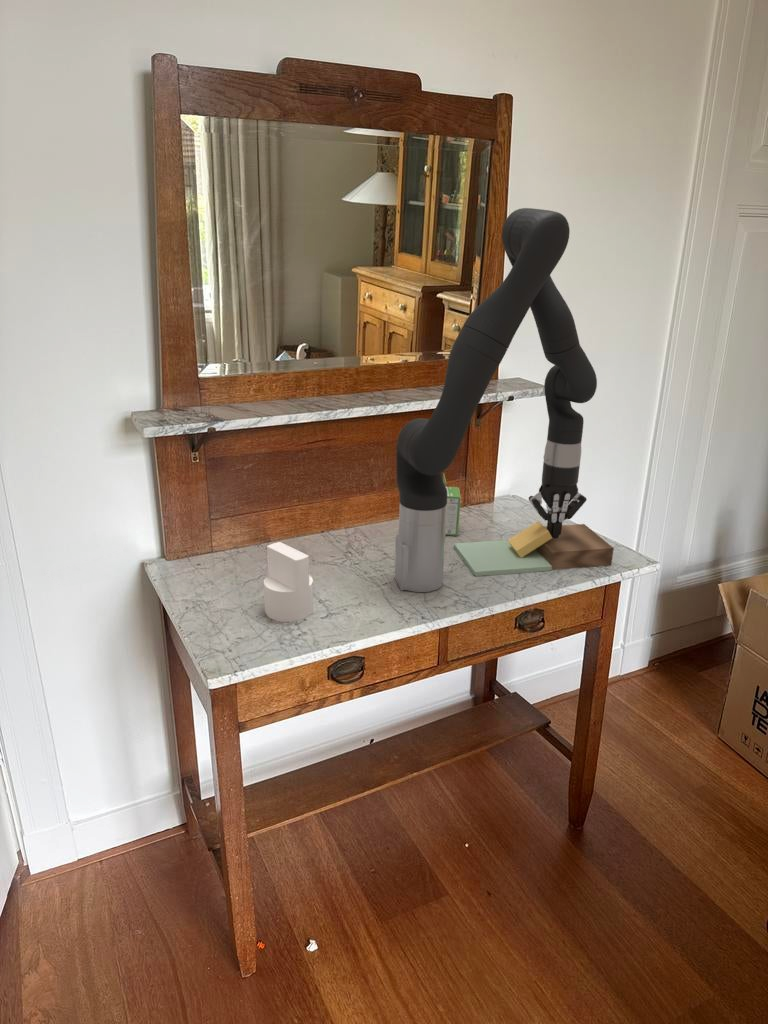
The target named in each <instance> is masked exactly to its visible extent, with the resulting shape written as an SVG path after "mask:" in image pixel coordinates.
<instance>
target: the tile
mask: <svg viewBox="0 0 768 1024" xmlns="http://www.w3.org/2000/svg"><path fill="white" fill-rule="evenodd" d="M544 526H545V525H544V524H542V523H541V521H539V520H537V521H536V522H534V523H532V524H531V525H528V527H526V528H524V529H523V530H522V531H520V532H518V533H517V534H515V535H514V536H512V537H510V538H509V539H507V540H508V542H509V543H510V545H511V547H512V548H513V549H514V550H515V551H516V553H517V554H518V555H519V556H520V557H521V558H522V557H523V556H525V555H526V554H528V553H530V552H531V551H533V550H534V549H536V548H537V547H539V546H541V545H542V544H544V543H545V542H547V541H549V540H550V539H552V536H551V534H550V533H549V531H548V530H547V529H546V528H545V527H544Z"/></svg>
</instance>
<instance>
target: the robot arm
mask: <svg viewBox="0 0 768 1024" xmlns="http://www.w3.org/2000/svg"><path fill="white" fill-rule="evenodd" d="M570 231H571V230H570V224H569V222H568V219H567V218H566V216H565V215H563V213H560V212H558V211H556V210H555V211H553V210H550V209H540V208H531V207H530V208H529V207H523V208H518V209H516V210H513V212H511V213H510V214H509V215H508V216H507V218H506V219H505V221H504V222H503V226H502V231H501V242H502V246H503V249H504V252H505V254H506V256H507V258H508V261H509V262H510V265H511V266H512V267H511V269H510V271H509V272H508V274H507V276H506V277H505V278H504V280H503V281H502V282H501V283H500V284H499V285H498V287H496V289H495V290H494V291H493V292H492V293H491V294H489V295H488V297H486V298H485V299H484V300H483V301H482V302H481V303H480V304H479V305H477V306H476V307H475V308H474V309H473V311H472V312H471V313H470V314H469V315H468V317H466V319H465V321H464V323H463V325H462V327H461V328H460V330H459V333H458V335H457V337H456V338H455V341H454V343H453V344H452V347H451V349H450V352H449V355H448V360H447V363H446V364H447V366H446V371H445V378H444V384H443V388H442V392H441V395H440V398H439V400H438V403H437V405H436V407H435V408H434V410H433V412H432V414H431V415H430V418H423V417H419V418H414V419H412V420H409V421H408V422H406V423H405V425H404V426H403V427H402V428H401V430H400V431H399V434H398V437H397V442H396V485H397V486H396V487H397V490H398V492H399V493H398V495H399V507H398V508H399V510H398V534H396V535H395V548H394V549H395V550H394V551H395V552H394V553H395V554H394V555H395V557H394V559H395V560H394V579H395V581H396V583H397V585H398V587H399V588H400V590H401V591H410V592H416V593H428V592H434V591H437V590H438V589H440V588H441V587H442V586H443V581H444V580H443V579H444V565H445V564H444V563H445V562H444V561H445V550H446V549H445V546H446V535H445V531H446V513H447V489H446V487H447V486H446V487H445V482H443V475H442V473H444V472H445V471H446V470H447V469H448V468H449V467H450V466H451V465H452V464H453V462H454V459H455V458H456V456H457V455H458V452H459V449H460V447H461V445H462V442H463V440H464V436H465V435H466V432H467V429H468V427H469V425H470V422H471V420H472V417H473V416H474V413H475V411H476V409H477V407H478V406H479V403H480V402H481V400H482V398H483V396H484V394H485V392H486V390H487V388H488V387H489V384H490V382H491V380H492V378H493V376H494V375H495V373H496V371H497V370H498V368H499V366H500V364H501V363H502V361H503V359H504V357H505V355H506V354H507V351H508V349H509V347H510V345H511V343H512V341H513V339H514V337H515V335H516V332H517V331H518V329H519V328H520V326H521V324H522V322H523V320H524V319H525V317H526V315H527V313H528V312H529V310H531V313H532V315H533V319H534V322H535V326H536V328H537V333H538V336H539V339H540V343H541V347H542V350H543V354H544V357H545V359H546V360H547V361H548V362H549V363H550V364H552V365H553V366H551V368H549V371H548V372H547V373H546V376H545V379H544V386H543V387H544V397H545V402H546V410H547V415H548V425H547V426H548V427H547V438H546V443H545V446H544V454H543V461H542V463H543V464H542V474H541V485H540V487H539V488H538V492H537V493H536V494H535V495H534V496H533V495H530V496H528V501H529V502H530V504H531V505H532V507H533V508H534V509H535V510H536V512H537V513H538V515H539V517H541V518H542V519H543V520H544V521H547V523H546V526H547V530H548V531H549V533H550V534H551V536H552V538H558V537H559V535H560V534H561V530H562V525H563V522H564V521H566V520H571V519H572V518H573V517H574V516H575V515H576V513H577V512H578V511H579V510H580V509H581V508H582V507H583V505H585V503H586V502H587V497H586V496H585V495H583V494H581V493H580V492H579V488H578V482H579V473H580V468H581V467H580V466H581V459H582V458H581V457H582V441H583V440H582V439H583V433H584V431H583V430H584V417H583V415H582V414H581V413H580V412H578V411H576V410H575V409H574V408H573V407H572V403H575V404H586V403H588V402H589V401H590V400H592V399H593V397H594V396H595V394H596V392H597V388H598V378H597V374H596V371H595V369H594V367H593V365H592V364H591V362H590V360H589V358H588V355H587V354H586V352H585V351H584V349H583V347H582V346H581V344H580V339H579V335H578V331H577V327H576V323H575V319H574V316H573V313H572V312H571V309H570V307H569V306H568V303H567V302H566V300H565V299H564V296H562V294H561V292H560V291H559V290H558V288H557V286H556V284H555V282H554V281H553V278H552V277H551V274H552V273H553V271H554V270H555V268H556V267H557V265H558V264H559V262H560V261H561V259H562V257H563V255H564V253H565V251H566V249H567V246H568V244H569V239H570ZM543 501H544V503H545V504H546V505H545V507H546V509H547V510H545V509H544V507H543V506H542V503H543Z"/></svg>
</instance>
